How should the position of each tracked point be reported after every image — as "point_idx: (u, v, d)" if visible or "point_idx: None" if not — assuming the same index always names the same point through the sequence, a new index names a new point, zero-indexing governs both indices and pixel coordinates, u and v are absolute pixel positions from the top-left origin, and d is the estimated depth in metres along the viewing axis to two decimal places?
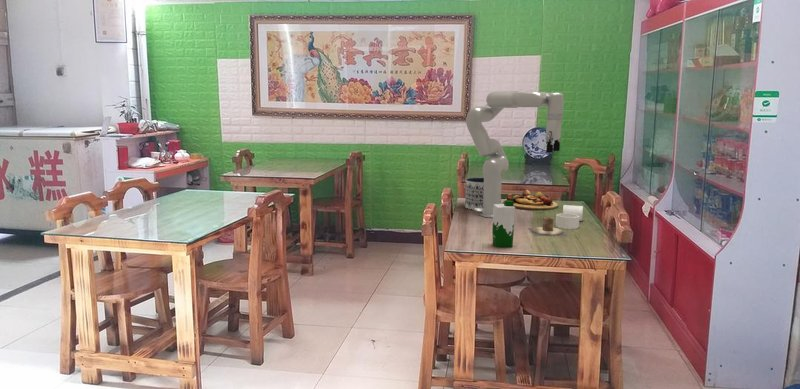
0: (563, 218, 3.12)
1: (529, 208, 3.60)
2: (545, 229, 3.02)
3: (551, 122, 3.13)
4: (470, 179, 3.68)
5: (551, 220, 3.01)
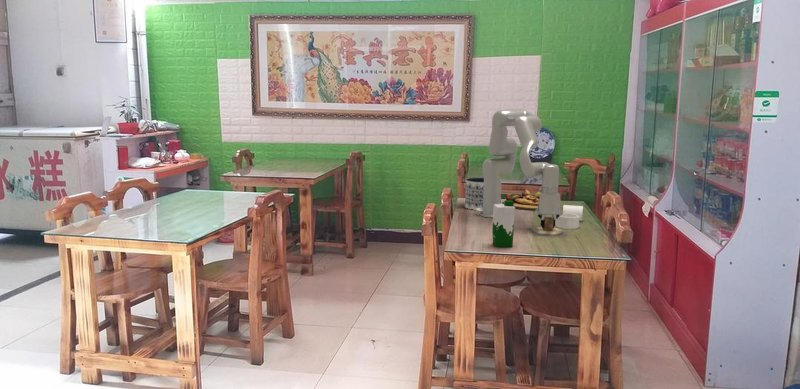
0: (563, 218, 3.12)
1: (528, 208, 3.60)
2: (545, 229, 3.02)
3: None
4: (470, 179, 3.68)
5: (551, 220, 3.01)
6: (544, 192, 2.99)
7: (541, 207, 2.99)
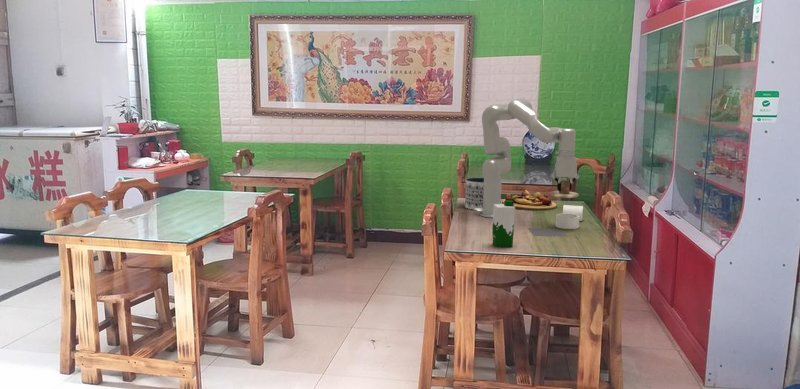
0: (563, 218, 3.12)
1: (528, 208, 3.59)
2: (561, 192, 3.09)
3: None
4: (470, 179, 3.68)
5: (567, 183, 3.08)
6: (561, 155, 3.05)
7: (558, 170, 3.06)
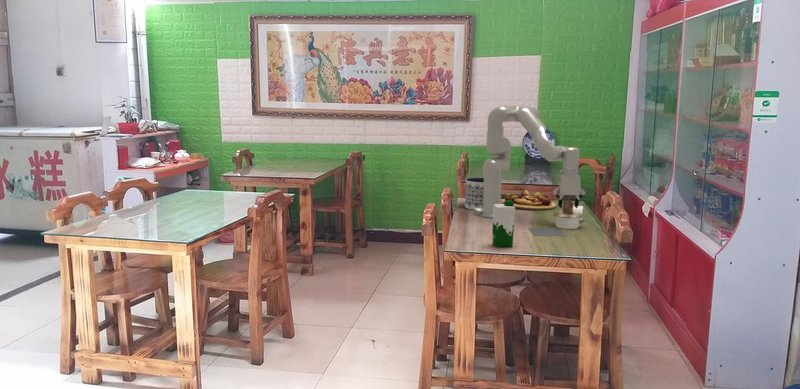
0: (563, 218, 3.12)
1: (527, 208, 3.59)
2: (565, 212, 3.14)
3: None
4: (470, 179, 3.68)
5: (571, 204, 3.13)
6: (565, 174, 3.10)
7: (562, 188, 3.11)
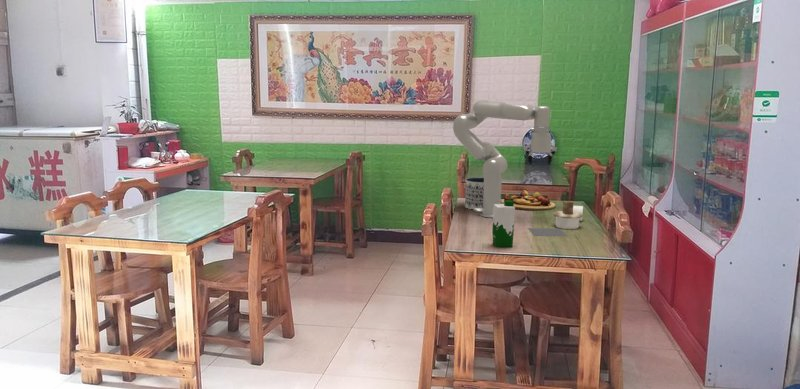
0: (563, 218, 3.12)
1: (526, 208, 3.59)
2: (565, 212, 3.14)
3: None
4: (470, 179, 3.68)
5: (571, 204, 3.13)
6: (536, 132, 3.22)
7: (533, 146, 3.22)
